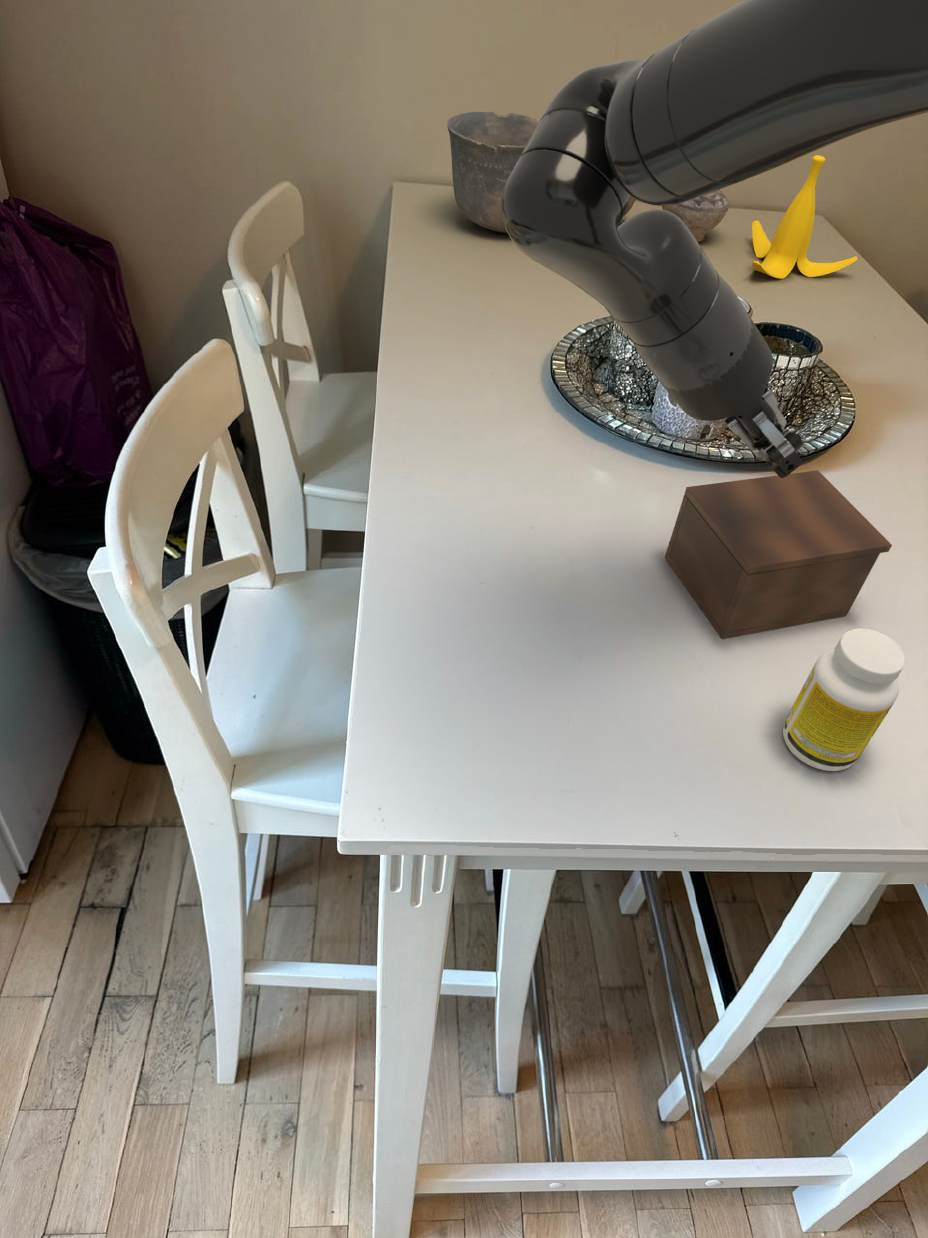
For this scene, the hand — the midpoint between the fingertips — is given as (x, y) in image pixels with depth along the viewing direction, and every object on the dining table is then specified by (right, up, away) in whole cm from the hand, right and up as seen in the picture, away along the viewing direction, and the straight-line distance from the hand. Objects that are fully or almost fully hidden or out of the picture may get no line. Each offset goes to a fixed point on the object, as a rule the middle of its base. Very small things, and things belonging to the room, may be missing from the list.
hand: (787, 466), depth 75 cm
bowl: (-23, +52, +71) cm, 91 cm away
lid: (+2, -4, +5) cm, 7 cm away
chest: (0, -10, +10) cm, 14 cm away
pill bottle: (+1, -23, -3) cm, 24 cm away
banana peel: (+23, +43, +67) cm, 83 cm away
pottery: (+3, +53, +75) cm, 92 cm away
